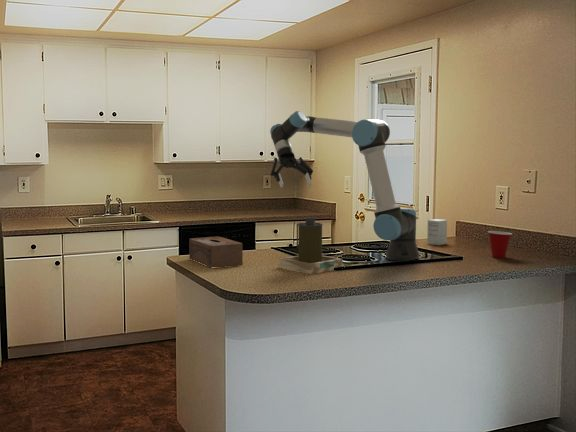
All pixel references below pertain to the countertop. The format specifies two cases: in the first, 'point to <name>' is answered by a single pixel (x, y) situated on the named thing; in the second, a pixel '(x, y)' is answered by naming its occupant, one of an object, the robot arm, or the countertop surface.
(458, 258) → the countertop surface
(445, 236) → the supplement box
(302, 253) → the canister
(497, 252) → the plastic cup
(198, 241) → the tissue box cover
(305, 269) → the square tray
